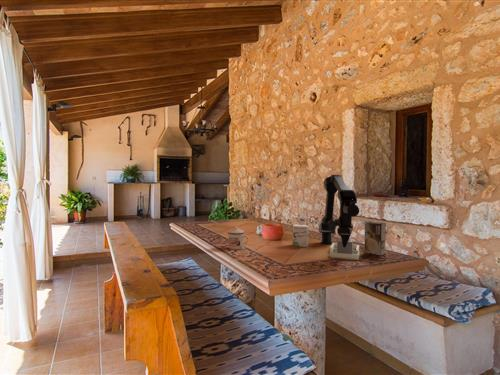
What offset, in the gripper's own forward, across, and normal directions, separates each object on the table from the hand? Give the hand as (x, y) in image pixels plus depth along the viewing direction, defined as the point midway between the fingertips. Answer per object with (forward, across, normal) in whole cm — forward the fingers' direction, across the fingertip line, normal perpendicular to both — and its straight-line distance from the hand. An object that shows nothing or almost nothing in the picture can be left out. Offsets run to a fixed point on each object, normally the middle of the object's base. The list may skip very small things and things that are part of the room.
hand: (345, 245), depth 159 cm
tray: (+6, 0, 0) cm, 6 cm away
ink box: (+6, -16, -26) cm, 31 cm away
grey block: (+5, 0, 0) cm, 5 cm away
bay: (+5, -13, -1) cm, 14 cm away
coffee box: (+6, -14, +14) cm, 21 cm away
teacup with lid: (+6, +4, -56) cm, 57 cm away
